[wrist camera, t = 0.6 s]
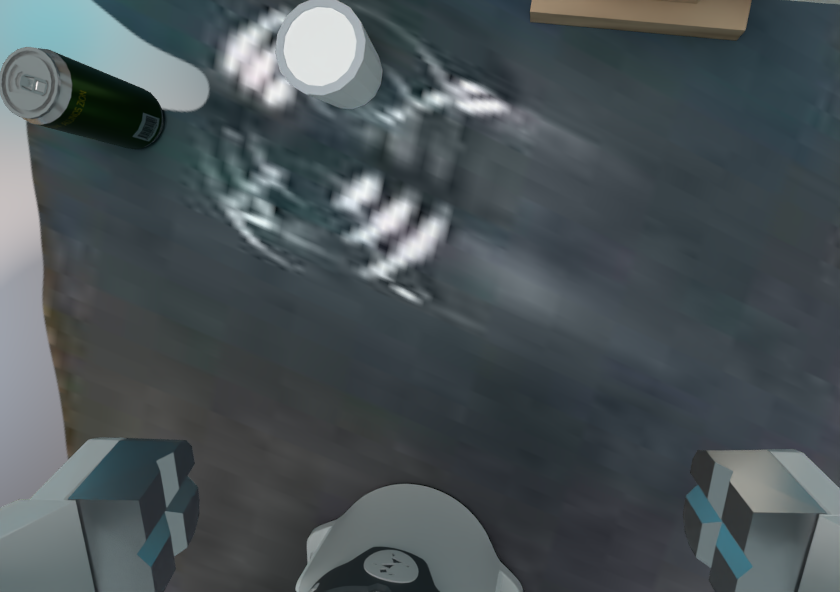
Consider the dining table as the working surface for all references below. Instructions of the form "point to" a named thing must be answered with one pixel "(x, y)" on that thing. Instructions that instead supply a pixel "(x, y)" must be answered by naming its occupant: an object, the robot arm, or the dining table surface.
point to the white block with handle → (821, 1)
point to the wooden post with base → (649, 16)
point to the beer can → (78, 99)
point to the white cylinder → (328, 54)
